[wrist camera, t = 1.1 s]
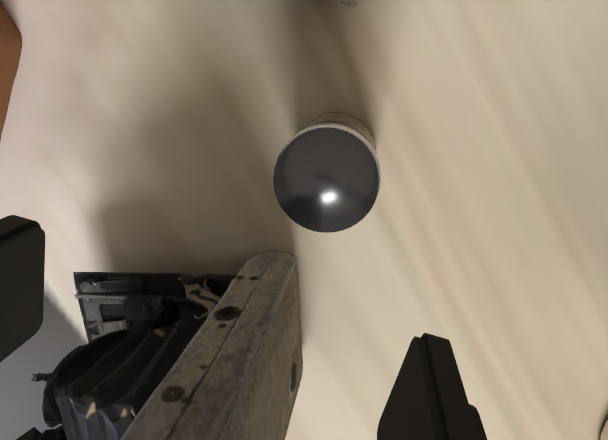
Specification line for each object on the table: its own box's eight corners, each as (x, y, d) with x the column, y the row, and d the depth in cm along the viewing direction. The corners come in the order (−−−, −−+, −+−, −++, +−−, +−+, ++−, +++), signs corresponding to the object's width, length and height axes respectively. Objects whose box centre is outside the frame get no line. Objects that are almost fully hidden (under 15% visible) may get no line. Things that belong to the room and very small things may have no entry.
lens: (387, 121, 27) (394, 142, 19) (365, 199, 29) (364, 245, 21) (306, 101, 27) (283, 115, 20) (289, 180, 29) (262, 219, 22)
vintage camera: (104, 240, 33) (-245, 467, 15) (303, 246, 30) (177, 534, 12) (127, 346, 36) (-134, 639, 18) (308, 360, 34) (217, 722, 15)
